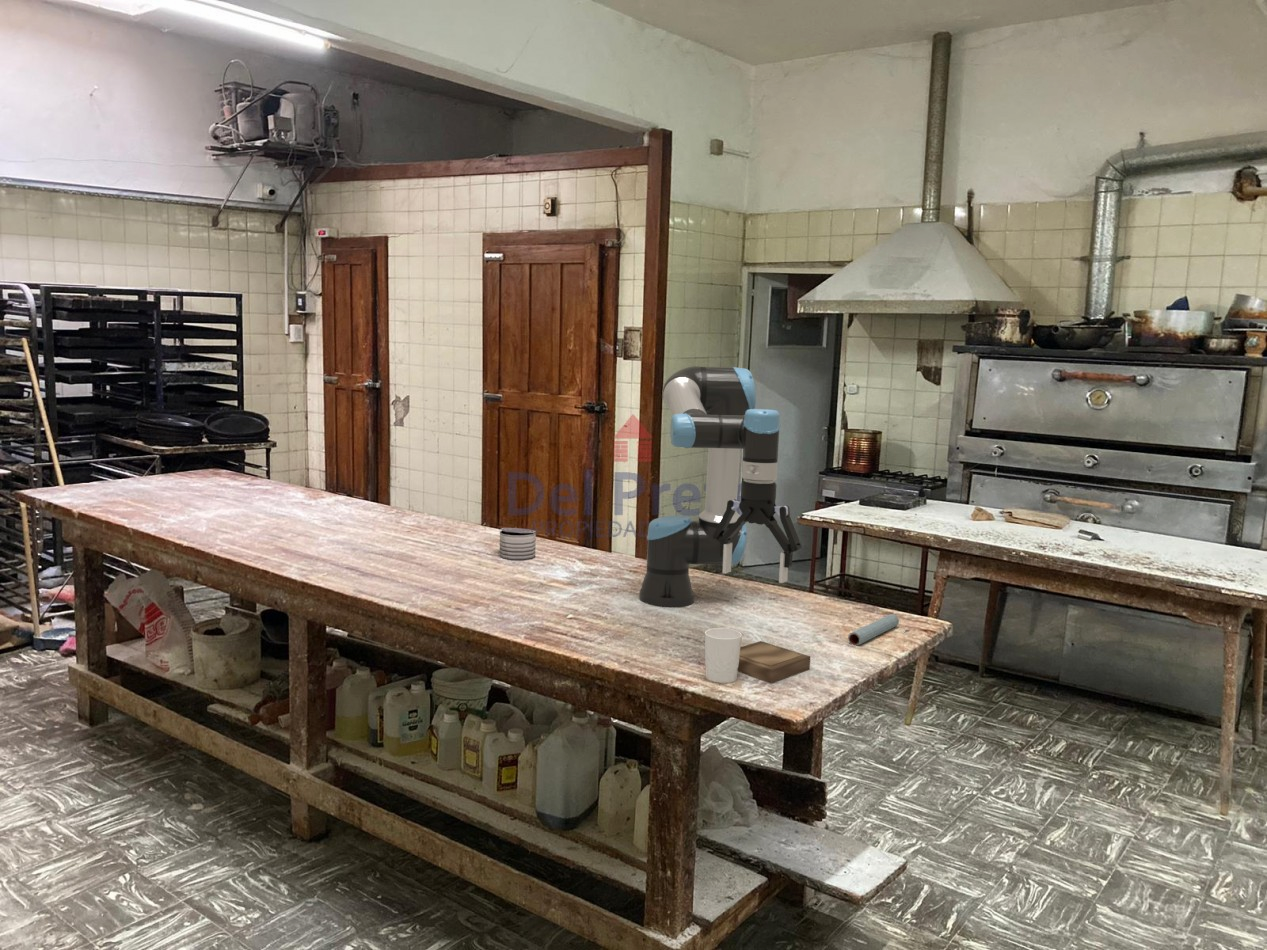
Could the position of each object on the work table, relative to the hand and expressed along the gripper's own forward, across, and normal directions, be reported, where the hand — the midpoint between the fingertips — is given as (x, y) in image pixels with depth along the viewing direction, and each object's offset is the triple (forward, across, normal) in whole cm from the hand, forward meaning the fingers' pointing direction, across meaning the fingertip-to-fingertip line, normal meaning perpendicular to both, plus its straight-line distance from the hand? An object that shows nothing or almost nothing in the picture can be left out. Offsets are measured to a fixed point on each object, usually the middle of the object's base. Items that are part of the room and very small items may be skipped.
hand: (754, 577), depth 206 cm
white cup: (+21, -3, -8) cm, 23 cm away
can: (+20, -102, +42) cm, 112 cm away
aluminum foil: (+22, +15, +44) cm, 51 cm away
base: (+21, +2, +4) cm, 22 cm away
